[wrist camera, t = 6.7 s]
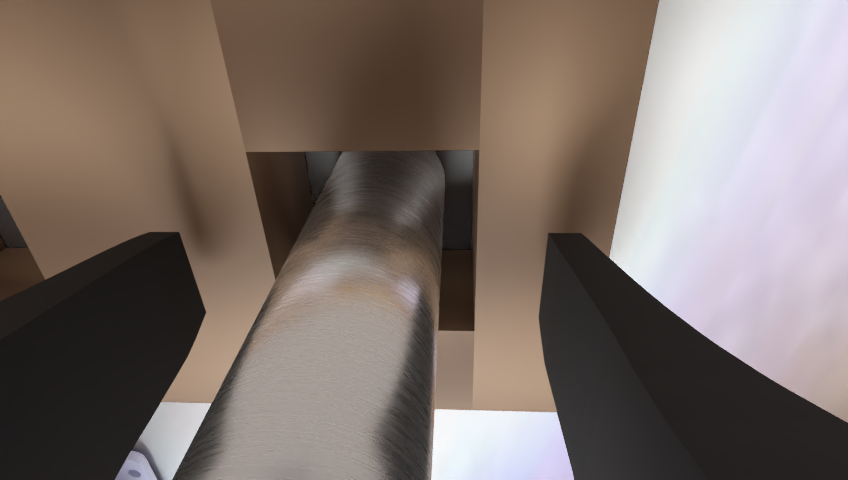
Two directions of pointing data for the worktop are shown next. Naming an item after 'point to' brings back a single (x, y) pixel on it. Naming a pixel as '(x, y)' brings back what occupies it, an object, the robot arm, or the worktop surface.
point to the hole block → (319, 148)
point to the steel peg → (341, 339)
